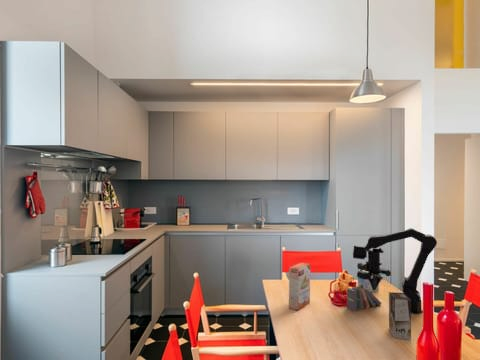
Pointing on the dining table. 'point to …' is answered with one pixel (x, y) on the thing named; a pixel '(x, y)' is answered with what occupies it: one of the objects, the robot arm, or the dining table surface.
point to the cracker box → (299, 286)
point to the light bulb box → (366, 284)
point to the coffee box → (400, 315)
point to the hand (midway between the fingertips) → (374, 290)
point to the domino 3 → (364, 299)
